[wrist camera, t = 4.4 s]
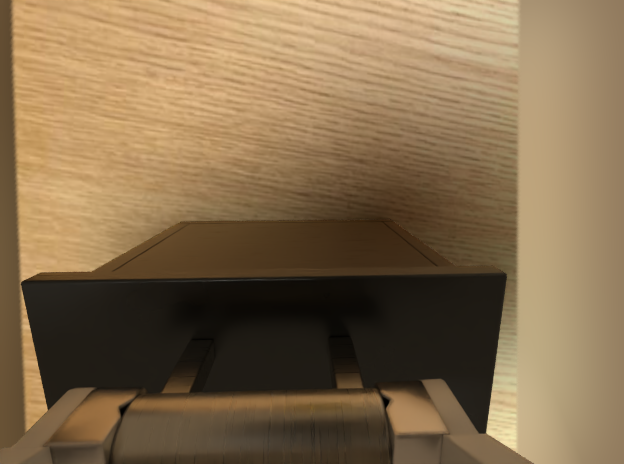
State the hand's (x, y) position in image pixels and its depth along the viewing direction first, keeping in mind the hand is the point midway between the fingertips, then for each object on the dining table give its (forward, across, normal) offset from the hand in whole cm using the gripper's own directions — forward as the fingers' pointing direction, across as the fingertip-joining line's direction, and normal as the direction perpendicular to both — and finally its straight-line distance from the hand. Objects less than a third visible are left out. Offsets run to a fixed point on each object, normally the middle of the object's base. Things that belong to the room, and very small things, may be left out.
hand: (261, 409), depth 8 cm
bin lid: (+3, 0, +6) cm, 7 cm away
